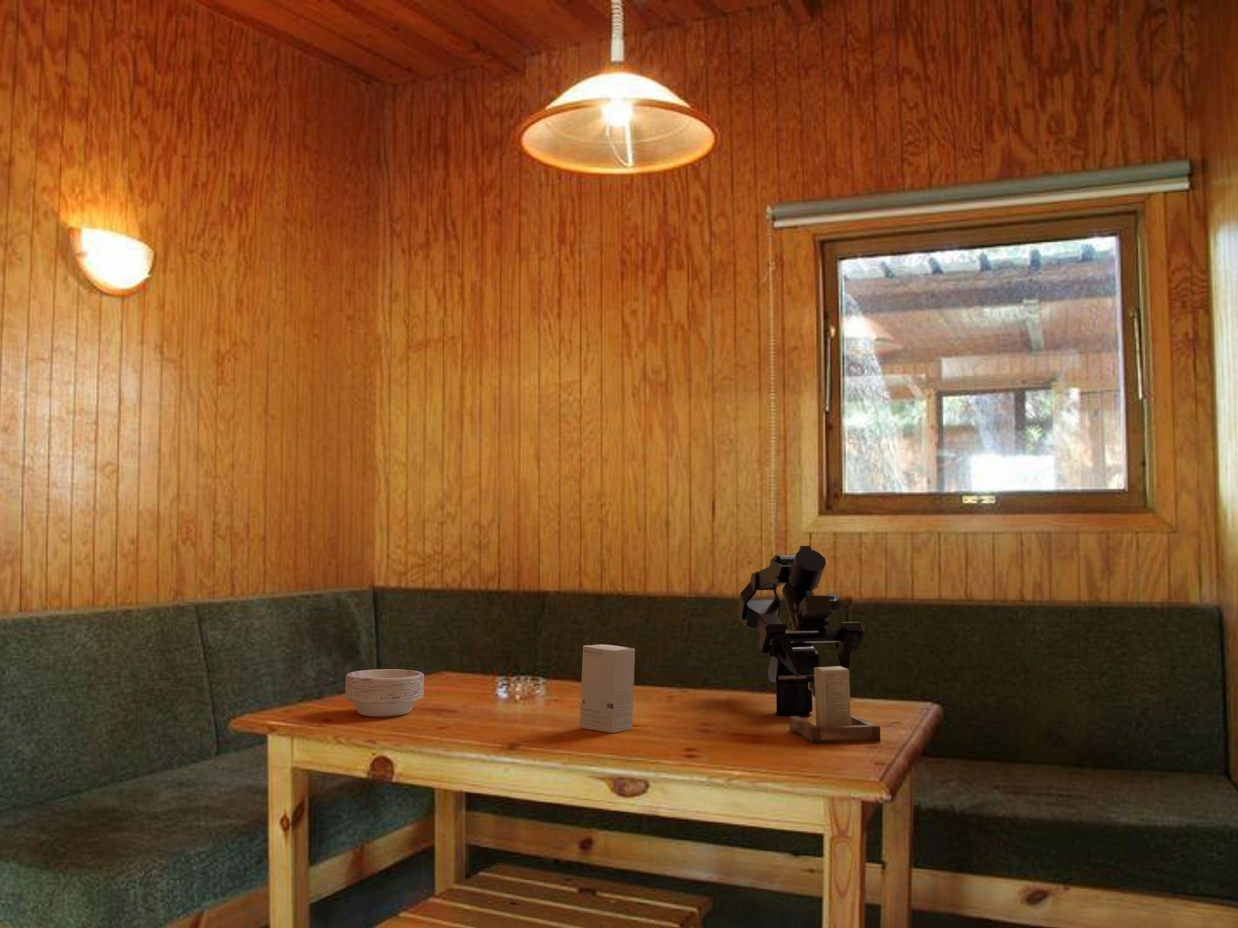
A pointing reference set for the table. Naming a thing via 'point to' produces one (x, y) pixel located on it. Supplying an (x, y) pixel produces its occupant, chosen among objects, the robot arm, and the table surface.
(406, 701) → the paper bowls
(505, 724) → the table surface
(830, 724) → the box
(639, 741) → the table surface
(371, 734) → the table surface
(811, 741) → the walnut u rest
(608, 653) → the skincare box
